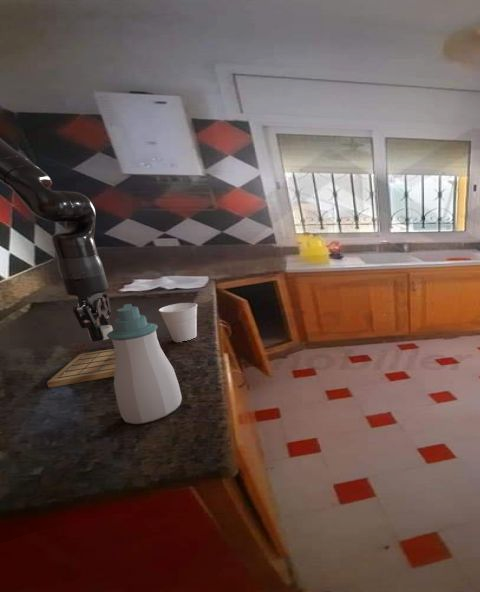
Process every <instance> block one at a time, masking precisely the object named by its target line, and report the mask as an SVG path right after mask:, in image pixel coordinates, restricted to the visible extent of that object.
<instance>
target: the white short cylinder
mask: <svg viewBox="0 0 480 592" xmlns="http://www.w3.org/2000/svg"><path fill="white" fill-rule="evenodd" d="M101 329H102V332H103V336H104V339H103V340H102V341H105V340H108V339H109V340H110V338H108V337H107V334H108V333H109V332H111V331H113V330H114V328H113V325H111V324H110V325H102V326H101ZM87 334H88V337H89V340H90V341H91V342H93V341H92V340H91V337H90V334H89V331H88V330H87Z"/></svg>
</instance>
